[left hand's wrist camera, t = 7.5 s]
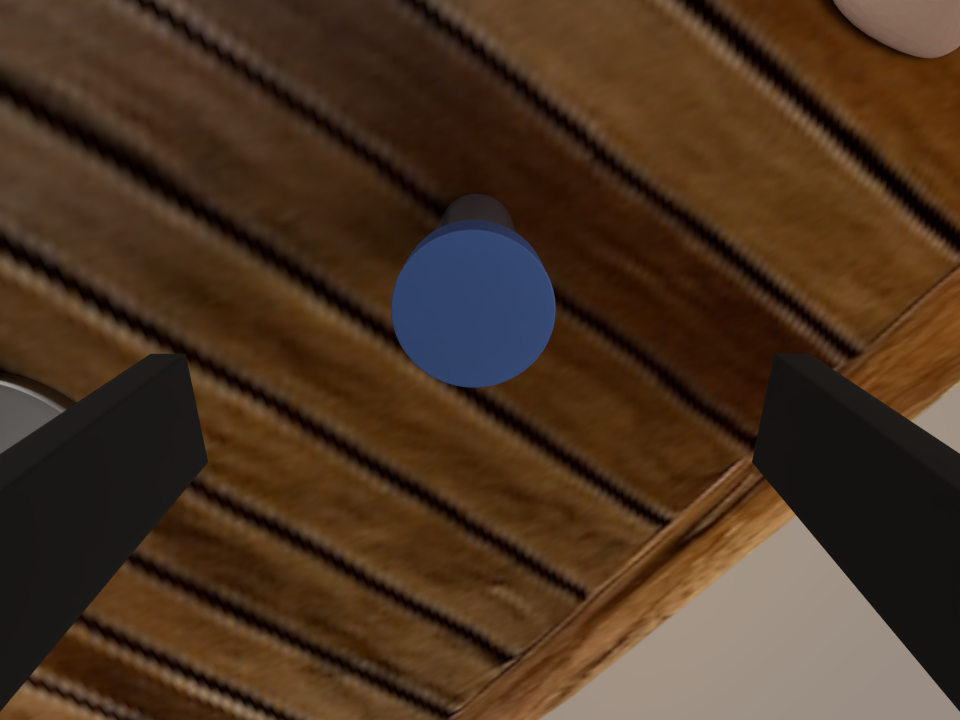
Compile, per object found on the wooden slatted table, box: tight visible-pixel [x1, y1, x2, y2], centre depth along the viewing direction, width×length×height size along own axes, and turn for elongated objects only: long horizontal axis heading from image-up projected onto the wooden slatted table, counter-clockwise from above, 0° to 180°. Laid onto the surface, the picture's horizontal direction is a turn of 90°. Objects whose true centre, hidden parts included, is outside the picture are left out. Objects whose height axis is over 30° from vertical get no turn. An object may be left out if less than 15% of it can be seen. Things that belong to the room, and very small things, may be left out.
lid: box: [391, 220, 556, 387], centre depth 19 cm, size 5×5×2 cm
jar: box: [436, 194, 517, 233], centre depth 26 cm, size 4×4×16 cm
